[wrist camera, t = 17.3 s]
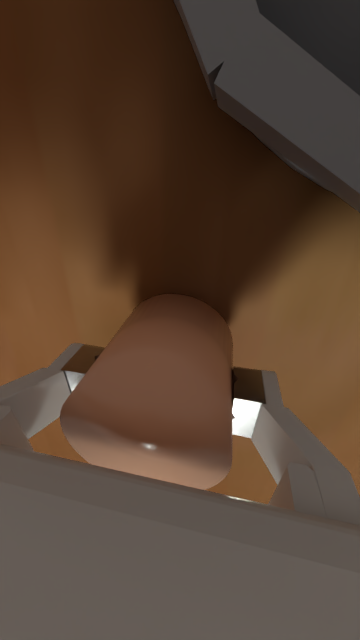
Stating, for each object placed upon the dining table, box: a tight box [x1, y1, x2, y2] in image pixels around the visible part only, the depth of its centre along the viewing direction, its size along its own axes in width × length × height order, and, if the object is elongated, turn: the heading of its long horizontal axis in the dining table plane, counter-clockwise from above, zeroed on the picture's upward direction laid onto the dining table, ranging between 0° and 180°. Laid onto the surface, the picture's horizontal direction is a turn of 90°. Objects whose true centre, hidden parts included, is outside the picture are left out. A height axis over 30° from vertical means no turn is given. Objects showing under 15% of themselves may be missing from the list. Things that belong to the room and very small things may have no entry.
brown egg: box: [60, 294, 233, 490], centre depth 9 cm, size 5×5×5 cm
